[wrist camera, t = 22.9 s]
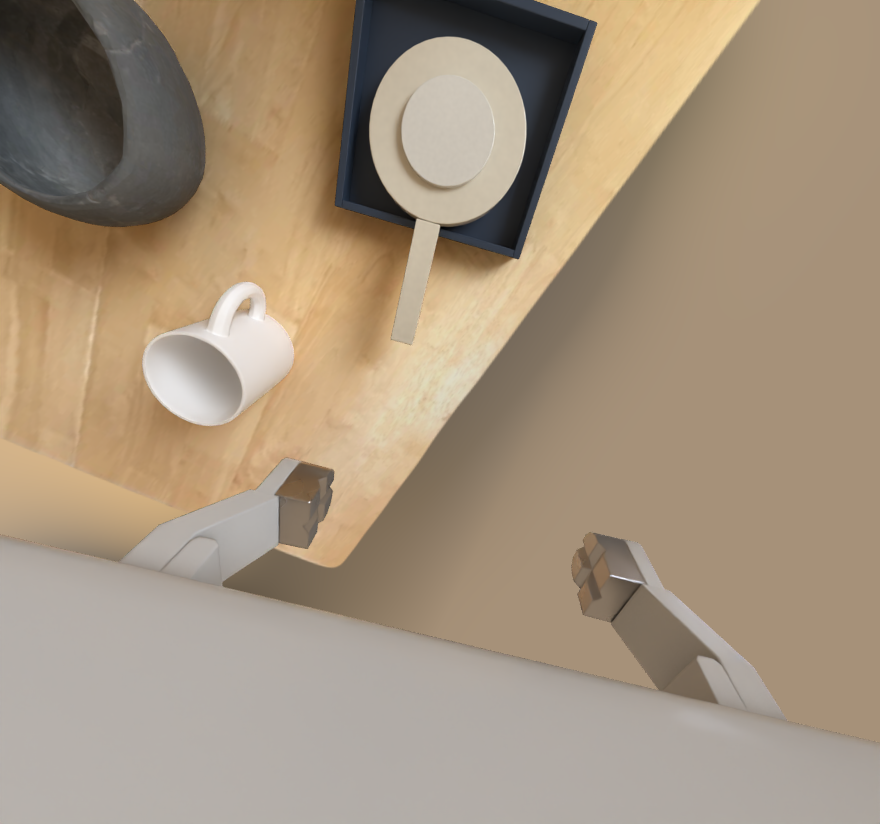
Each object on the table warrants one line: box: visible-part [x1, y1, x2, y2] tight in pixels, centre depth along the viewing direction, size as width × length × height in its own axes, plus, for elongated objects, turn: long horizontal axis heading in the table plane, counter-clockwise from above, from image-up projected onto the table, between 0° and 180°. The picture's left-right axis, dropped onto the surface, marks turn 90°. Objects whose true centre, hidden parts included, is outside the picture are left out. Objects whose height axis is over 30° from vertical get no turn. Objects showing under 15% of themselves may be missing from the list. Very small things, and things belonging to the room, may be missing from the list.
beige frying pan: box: [369, 37, 526, 345], centre depth 28 cm, size 12×22×2 cm, turn 166°
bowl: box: [0, 0, 205, 227], centre depth 25 cm, size 15×15×10 cm
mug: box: [142, 282, 294, 426], centre depth 32 cm, size 12×8×10 cm
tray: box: [335, 0, 597, 259], centre depth 28 cm, size 16×15×3 cm
